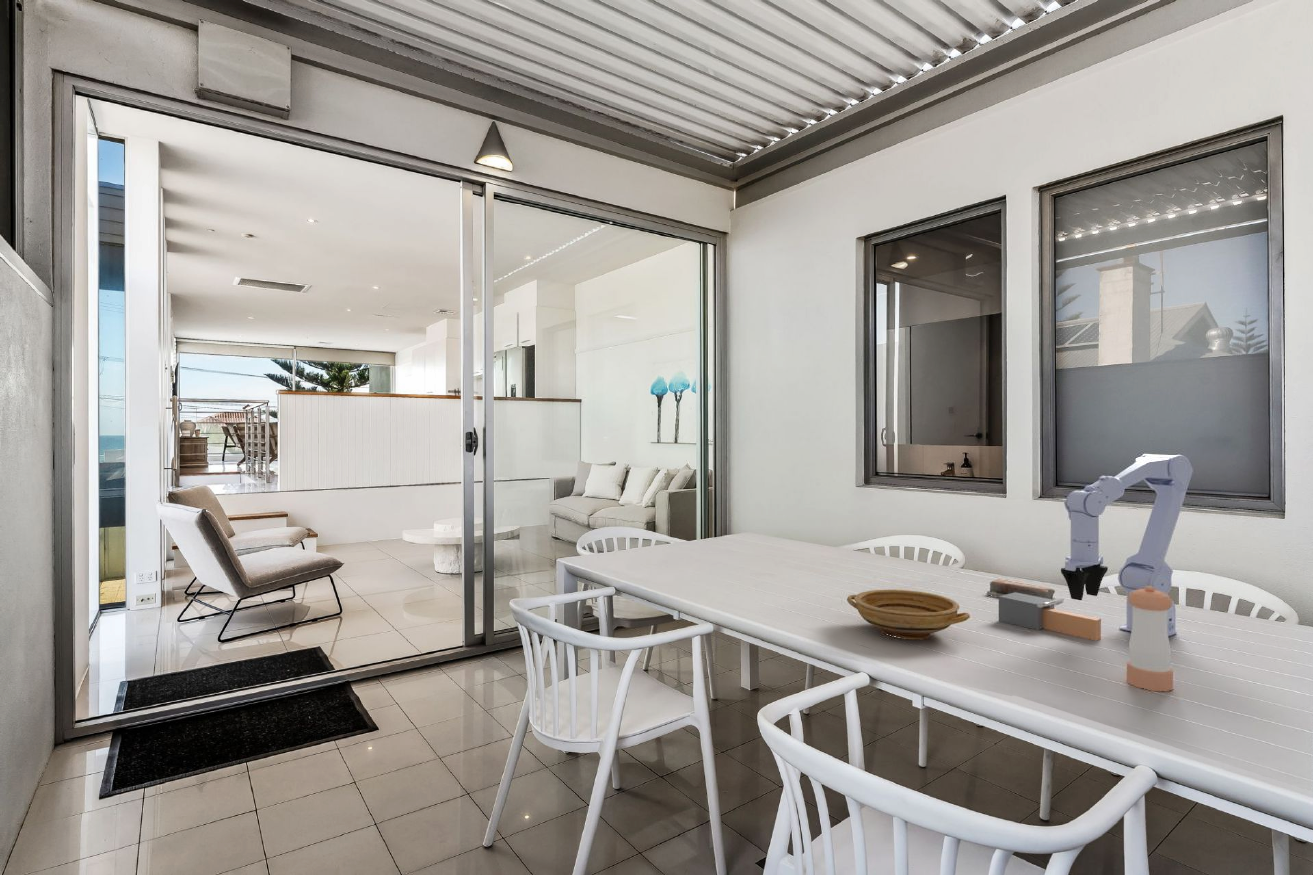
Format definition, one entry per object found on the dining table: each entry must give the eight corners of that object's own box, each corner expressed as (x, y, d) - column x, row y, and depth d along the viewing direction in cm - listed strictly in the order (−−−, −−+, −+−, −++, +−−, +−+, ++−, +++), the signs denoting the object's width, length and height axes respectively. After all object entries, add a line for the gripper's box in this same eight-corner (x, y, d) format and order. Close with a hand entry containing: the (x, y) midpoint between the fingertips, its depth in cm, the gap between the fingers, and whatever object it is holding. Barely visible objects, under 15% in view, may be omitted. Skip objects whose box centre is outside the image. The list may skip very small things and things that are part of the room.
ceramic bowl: (983, 633, 166) (984, 600, 166) (953, 658, 148) (953, 621, 148) (867, 612, 185) (867, 583, 185) (827, 632, 167) (827, 600, 167)
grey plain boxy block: (1057, 625, 172) (1057, 600, 172) (1040, 631, 168) (1040, 605, 168) (1015, 616, 181) (1015, 592, 181) (998, 621, 177) (998, 596, 177)
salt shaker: (1153, 693, 128) (1154, 592, 127) (1117, 680, 135) (1117, 583, 134) (1182, 689, 130) (1182, 589, 130) (1145, 676, 137) (1145, 581, 136)
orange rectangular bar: (1100, 639, 161) (1100, 618, 161) (1096, 641, 160) (1096, 620, 160) (1032, 624, 175) (1032, 604, 175) (1027, 625, 173) (1027, 606, 173)
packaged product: (985, 580, 204) (1001, 576, 211) (985, 596, 204) (1001, 592, 211) (1049, 591, 190) (1064, 586, 196) (1049, 609, 190) (1064, 603, 196)
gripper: (1081, 536, 170) (1081, 590, 171) (1051, 541, 162) (1051, 598, 163) (1112, 539, 165) (1112, 595, 165) (1083, 545, 157) (1083, 604, 157)
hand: (1084, 597), depth 163 cm, fingers open, 7 cm apart
